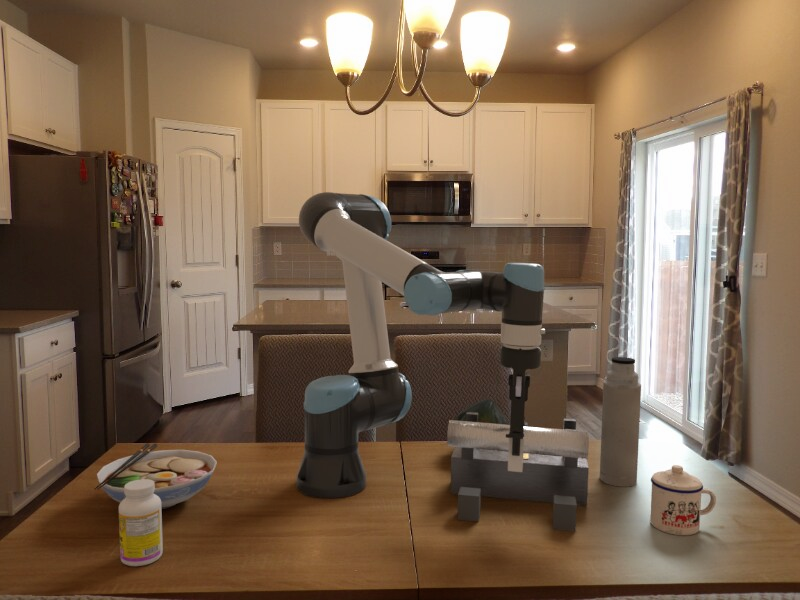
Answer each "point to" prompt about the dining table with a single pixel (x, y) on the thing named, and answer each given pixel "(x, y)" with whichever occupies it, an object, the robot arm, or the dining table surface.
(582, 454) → the tube
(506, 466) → the grey cradle stand
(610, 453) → the thermos bottle
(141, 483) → the supplement bottle
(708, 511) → the teacup with lid
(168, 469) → the ramen bowl
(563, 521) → the posts
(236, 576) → the dining table surface
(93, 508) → the dining table surface
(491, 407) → the squash
